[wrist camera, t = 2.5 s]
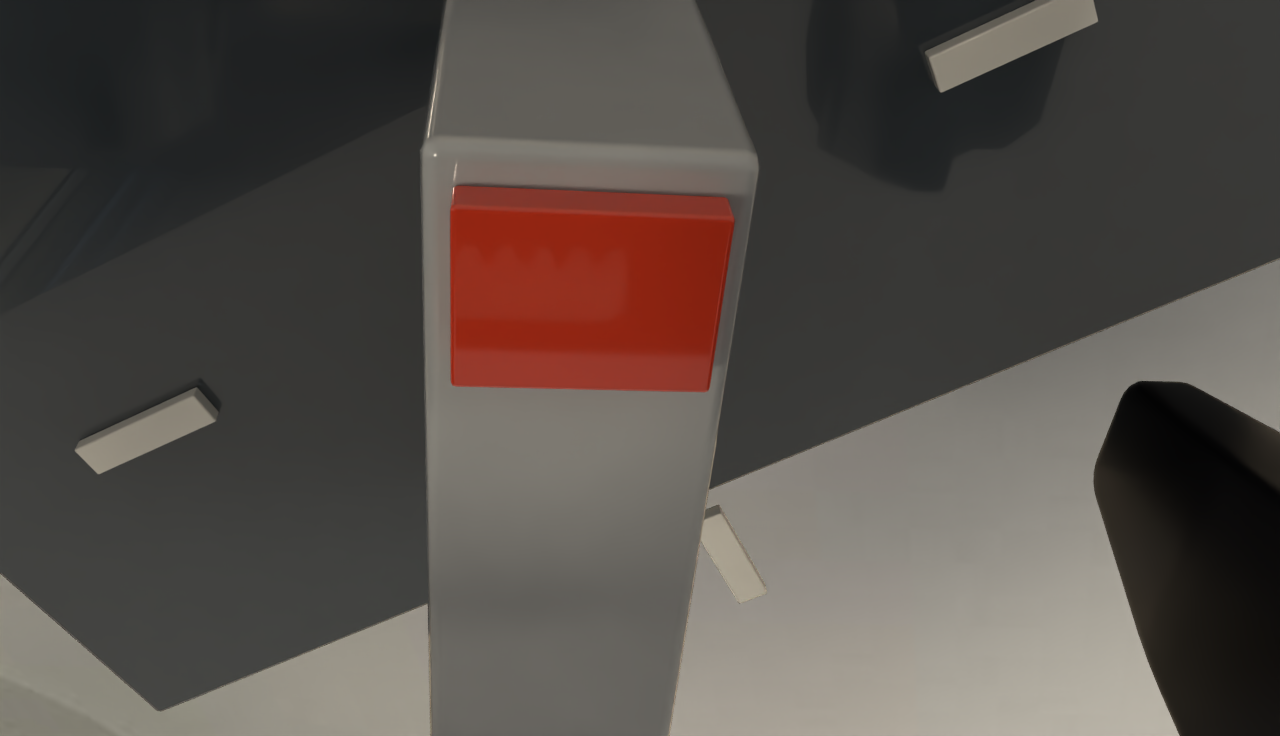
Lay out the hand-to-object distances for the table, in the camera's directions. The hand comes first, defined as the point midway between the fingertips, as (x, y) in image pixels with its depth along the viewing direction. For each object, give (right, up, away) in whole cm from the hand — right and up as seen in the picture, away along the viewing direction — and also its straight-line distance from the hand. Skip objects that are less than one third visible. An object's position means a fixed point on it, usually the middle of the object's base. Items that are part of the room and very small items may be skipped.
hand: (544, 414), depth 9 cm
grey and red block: (0, +1, +2) cm, 3 cm away
